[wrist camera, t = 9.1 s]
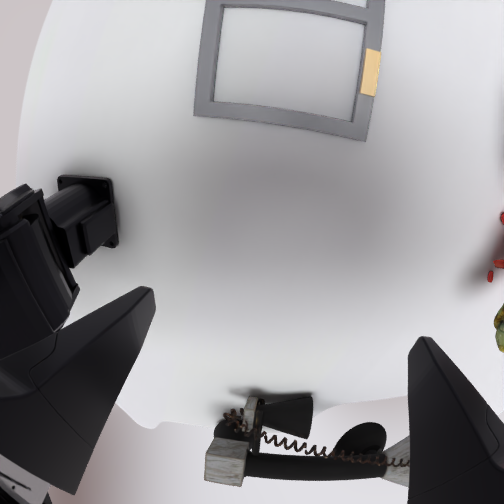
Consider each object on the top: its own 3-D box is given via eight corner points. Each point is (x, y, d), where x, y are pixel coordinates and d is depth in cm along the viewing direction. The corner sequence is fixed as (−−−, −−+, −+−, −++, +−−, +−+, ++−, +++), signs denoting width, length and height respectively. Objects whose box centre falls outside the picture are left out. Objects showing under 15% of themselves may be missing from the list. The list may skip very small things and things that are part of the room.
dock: (197, 114, 18) (191, 116, 16) (226, -81, 9) (221, -88, 8) (363, 140, 17) (367, 142, 16) (383, -64, 8) (387, -71, 7)
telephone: (412, 380, 36) (218, 371, 40) (453, 402, 24) (193, 396, 27) (392, 462, 33) (212, 456, 37) (419, 499, 21) (189, 498, 25)
